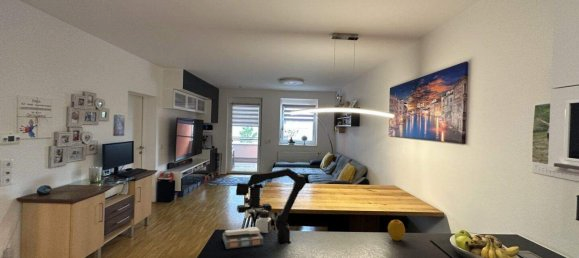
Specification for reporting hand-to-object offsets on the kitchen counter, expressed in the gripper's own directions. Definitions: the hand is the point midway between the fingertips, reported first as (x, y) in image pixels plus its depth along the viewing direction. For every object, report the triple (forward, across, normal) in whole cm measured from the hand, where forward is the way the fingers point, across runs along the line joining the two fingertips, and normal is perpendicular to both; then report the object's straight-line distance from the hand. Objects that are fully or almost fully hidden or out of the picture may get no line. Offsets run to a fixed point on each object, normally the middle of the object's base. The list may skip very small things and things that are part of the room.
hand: (253, 223), depth 170 cm
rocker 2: (+7, +6, -3) cm, 9 cm away
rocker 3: (+7, 0, -3) cm, 7 cm away
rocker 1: (+7, +12, -3) cm, 14 cm away
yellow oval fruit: (+10, -81, +20) cm, 84 cm away
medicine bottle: (+10, -10, -16) cm, 21 cm away
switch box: (+10, +6, -2) cm, 12 cm away
